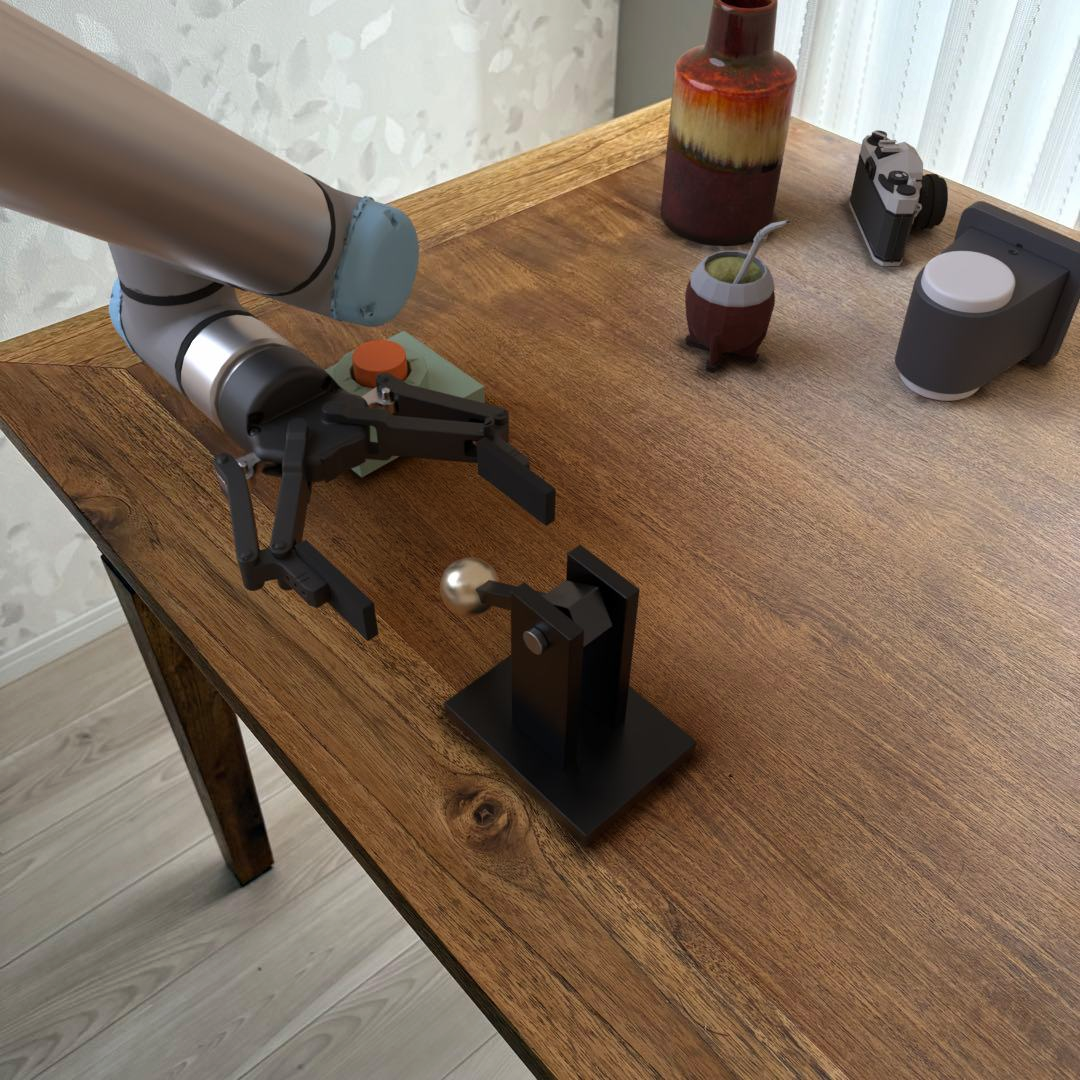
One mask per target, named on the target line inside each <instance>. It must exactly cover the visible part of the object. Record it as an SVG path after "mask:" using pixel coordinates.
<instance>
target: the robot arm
mask: <svg viewBox="0 0 1080 1080" xmlns="http://www.w3.org/2000/svg"><path fill="white" fill-rule="evenodd" d="M0 208H4V209H7V210H10V211H12V212H16V213H19V214H22V215H24V216H28V217H31V218H33V219H37V220H40V221H43V222H45V223H49V224H52V225H55V226H58V227H60V228H64V229H67V230H70V231H73V232H75V233H79V234H82V235H85V236H88V237H91V238H94V239H97V240H100V241H103V242H106V243H107V246H108V249H109V251H110V254H111V255H110V256H111V257H112V261H113V264H114V267H115V270H116V273H117V277H116V279H115V280H114V283H113V285H112V288H111V295H110V299H109V303H108V313H109V318H110V321H111V323H112V326H113V328H114V329H115V331H116V332H117V334H118V335H119V336H120V338H121V339H122V340H123V341H124V342H125V344H126V346H127V347H128V349H129V350H130V351H131V352H132V353H134V354H135V355H136V356H137V358H138V359H139V360H140V361H142V362H143V363H144V364H145V365H146V366H149V367H150V368H151V369H152V370H154V371H155V372H156V373H157V374H158V375H160V376H161V377H162V378H163V379H164V380H165V381H166V382H167V383H168V384H170V385H171V386H172V387H173V388H174V389H175V390H177V391H178V392H179V393H180V394H181V395H183V396H184V397H185V398H186V399H187V400H188V401H190V403H192V405H193V406H195V408H197V409H198V410H199V411H200V412H201V413H203V414H204V415H205V416H206V417H207V418H208V419H209V420H210V421H211V422H212V423H214V424H215V426H217V427H218V428H219V429H221V430H222V431H224V432H225V434H226V435H227V436H228V437H229V438H230V440H232V441H233V442H234V443H235V444H236V445H238V446H239V447H240V448H241V449H242V450H243V451H244V452H245V453H247V454H245V455H242V456H240V457H237V458H234V456H233V455H232V454H230V453H226V452H225V453H219V454H217V455H215V457H213V459H212V462H213V467H214V469H215V470H214V471H215V473H216V478H217V482H218V484H219V489H220V492H221V493H222V494H223V495H224V497H225V498H226V500H227V501H228V505H229V512H230V513H229V514H230V520H231V527H232V535H233V542H234V549H235V556H236V557H235V558H236V560H237V564H238V568H239V572H240V575H241V578H242V583H243V587H244V588H245V590H247V591H250V592H256V591H259V590H261V589H263V587H264V586H265V583H266V582H270V581H273V580H274V581H275V580H277V585H278V587H279V589H281V590H283V591H294V592H295V593H296V594H297V595H298V596H299V597H300V599H302V600H303V601H304V602H305V603H306V604H307V605H308V606H310V607H312V608H315V609H319V608H320V607H322V606H323V605H325V604H329V606H330V607H331V608H332V609H333V610H335V612H337V614H339V616H341V618H343V620H345V621H346V622H347V623H348V624H349V626H351V627H352V628H353V629H354V630H355V631H356V632H357V633H358V635H361V637H363V639H365V640H366V642H369V641H371V640H373V639H374V638H375V637H377V636H378V635H379V629H378V622H377V613H376V608H375V607H376V606H375V602H374V601H373V600H372V599H371V598H370V597H368V596H367V594H366V593H364V592H363V591H362V590H361V589H360V588H359V587H358V586H357V585H356V584H354V582H352V580H350V579H349V578H348V577H347V576H346V575H345V574H344V573H343V572H341V570H339V569H338V568H337V567H336V566H335V565H334V564H333V563H332V562H331V561H330V560H328V558H327V557H325V556H324V555H323V554H322V553H321V552H320V551H319V550H318V549H317V548H316V547H315V546H313V544H312V543H310V542H309V541H308V540H307V539H305V540H303V537H304V530H305V525H306V524H305V523H306V517H307V511H308V505H309V504H310V503H311V496H312V490H313V483H319V482H320V483H321V482H324V483H325V484H328V483H330V482H331V481H333V480H336V478H338V477H339V476H340V475H341V474H343V473H344V472H345V471H348V470H352V469H351V468H354V467H357V466H359V465H361V464H362V463H364V462H366V460H365V459H372V460H383V461H385V460H389V459H390V458H391V457H392V456H399V457H400V458H401V457H403V458H414V459H423V460H436V461H446V462H447V461H448V462H458V463H468V464H469V463H470V464H477V465H476V466H477V475H478V476H480V477H481V478H483V479H484V480H485V481H487V482H488V483H489V484H490V485H492V487H494V488H496V489H497V490H498V491H500V493H502V494H503V495H504V496H506V497H507V498H509V499H510V500H511V501H512V502H514V503H515V504H516V505H518V506H519V507H520V508H521V509H523V510H524V511H526V513H528V514H530V515H531V516H532V517H533V518H534V519H536V520H537V521H538V522H540V523H541V524H542V525H544V526H545V527H548V526H549V525H551V524H552V523H555V521H556V500H557V499H556V497H557V488H555V486H553V485H552V484H550V483H549V482H547V481H546V479H544V478H542V477H541V476H540V475H539V474H537V473H535V471H533V470H531V462H530V460H529V458H528V456H527V455H526V454H523V453H522V452H521V451H520V450H518V449H517V448H515V447H514V446H513V445H511V444H510V412H509V410H508V409H507V408H504V407H502V406H497V405H494V404H490V403H486V402H485V403H482V402H478V401H474V400H470V399H466V398H462V397H458V396H454V395H450V394H446V393H442V392H438V391H434V390H430V389H426V388H422V387H418V386H414V385H410V384H407V383H405V382H404V381H402V380H400V379H398V378H397V377H395V376H393V375H392V374H389V373H380V374H378V375H377V376H376V378H375V380H376V388H374V389H372V390H371V391H369V392H368V393H366V394H365V395H363V396H359V395H356V394H351V393H348V392H345V391H344V390H342V388H341V387H340V386H339V385H338V384H337V383H336V381H335V380H334V379H333V378H332V377H331V376H330V375H329V374H328V373H327V372H326V371H325V369H324V368H322V367H321V366H319V365H318V364H317V363H316V362H315V361H313V360H312V359H311V358H310V357H308V356H307V355H306V354H304V352H301V351H300V350H298V348H296V346H294V345H293V343H291V342H290V341H289V340H287V339H286V338H285V337H283V336H282V335H281V334H279V333H278V332H276V330H274V329H272V328H271V327H270V326H269V325H267V324H266V323H264V322H263V321H262V320H260V319H259V318H258V317H257V316H256V315H254V314H252V312H251V311H249V310H248V309H247V308H246V307H245V306H243V305H242V304H241V303H240V301H239V299H238V297H237V293H236V289H237V290H240V291H242V292H249V293H252V294H254V295H258V296H261V297H265V298H267V299H271V300H274V301H277V302H279V303H282V304H286V305H289V306H292V307H295V308H299V309H302V310H305V311H307V312H311V313H314V314H317V315H321V316H324V317H327V318H329V319H332V320H334V321H336V322H337V321H338V322H340V323H342V322H347V323H351V324H355V325H360V326H364V327H368V328H377V327H382V326H384V325H386V324H388V323H389V322H391V321H392V320H394V319H395V318H396V317H397V316H398V315H399V314H400V312H401V311H402V309H403V308H404V306H405V305H406V304H407V301H408V300H409V297H410V295H411V293H412V291H413V285H414V283H415V281H416V276H417V273H418V267H419V260H420V246H419V245H420V244H419V243H420V242H419V236H418V233H417V228H416V227H415V226H414V223H413V221H412V220H411V218H410V217H409V216H408V214H407V213H406V212H404V211H403V210H401V208H397V207H394V206H391V205H388V204H386V203H383V202H379V201H376V200H375V199H374V198H373V197H371V196H368V195H364V196H363V197H362V196H358V195H354V194H350V193H347V192H344V191H342V190H339V189H336V188H334V187H332V186H331V185H328V184H327V183H325V182H324V181H322V180H320V179H318V178H317V177H314V176H313V175H310V174H308V173H306V172H303V171H302V170H300V169H299V168H297V166H294V165H292V164H290V163H289V162H287V161H285V159H282V158H280V157H279V156H277V155H275V154H274V153H271V152H270V151H268V150H266V149H264V148H262V147H261V146H259V145H258V144H256V143H254V142H253V141H250V140H249V139H247V138H245V137H244V136H242V135H241V134H238V133H236V132H234V131H233V130H231V129H230V128H228V127H226V126H224V125H222V124H220V123H219V122H217V121H215V120H214V119H212V118H210V117H208V116H206V115H205V114H203V113H201V112H199V111H198V110H196V109H194V108H192V107H190V106H188V105H187V104H185V103H184V102H183V101H180V100H179V99H177V98H175V97H173V96H172V95H169V94H168V93H166V92H165V91H163V90H161V89H159V88H158V87H156V86H154V85H152V84H150V83H148V82H146V81H145V80H143V79H141V78H140V77H138V76H136V75H135V74H133V73H132V72H129V71H127V70H125V69H124V68H122V67H120V66H119V65H118V64H117V65H116V64H115V63H113V62H112V61H110V60H108V59H107V58H104V57H103V56H101V55H99V54H98V53H96V52H94V51H92V50H90V49H89V48H87V47H86V46H83V45H82V44H80V43H78V42H77V41H75V40H73V39H71V38H70V37H68V36H66V35H64V34H63V33H61V32H59V31H57V30H56V29H54V28H52V27H50V26H48V24H47V25H46V24H45V23H43V22H42V21H40V20H38V19H36V18H34V17H32V16H31V15H29V14H27V13H25V12H24V11H22V10H20V9H19V8H17V7H15V6H14V5H11V4H10V3H8V2H6V1H4V0H0ZM370 426H374V427H375V428H376V432H377V440H378V442H370ZM474 442H476V444H475V443H474ZM259 473H261V474H263V475H265V476H268V477H275V478H281V481H280V488H279V492H278V498H277V503H276V509H275V515H274V519H273V520H274V521H273V526H272V532H271V536H270V537H271V538H270V543H269V547H265V548H263V549H261V547H260V542H259V534H258V527H257V522H256V515H255V510H254V505H253V501H252V496H251V495H252V494H253V493H254V491H255V490H254V487H255V486H256V485H257V478H256V477H257V476H258V474H259Z"/></svg>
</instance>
